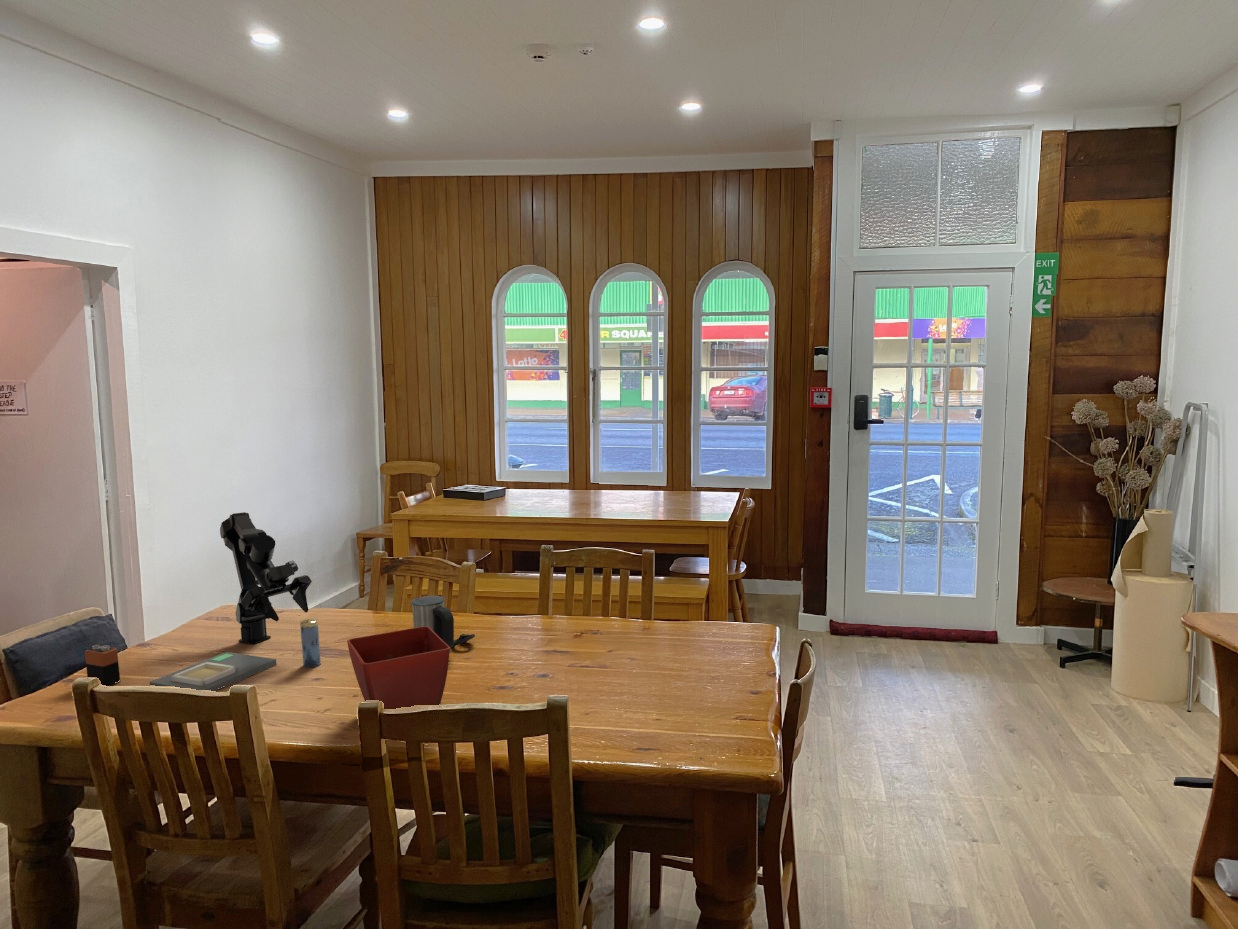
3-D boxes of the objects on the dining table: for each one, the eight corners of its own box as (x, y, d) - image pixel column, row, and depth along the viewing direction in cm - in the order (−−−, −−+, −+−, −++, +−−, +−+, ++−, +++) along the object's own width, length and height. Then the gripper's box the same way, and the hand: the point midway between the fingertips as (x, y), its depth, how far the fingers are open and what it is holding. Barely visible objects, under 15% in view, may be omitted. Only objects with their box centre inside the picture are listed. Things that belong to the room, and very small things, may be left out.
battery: (105, 688, 219) (101, 650, 218) (87, 685, 222) (83, 647, 221) (121, 682, 223) (117, 644, 222) (103, 679, 226) (99, 642, 225)
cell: (311, 661, 236) (308, 618, 234) (324, 663, 234) (321, 619, 232) (299, 666, 232) (296, 623, 230) (312, 668, 230) (309, 624, 228)
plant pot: (367, 739, 186) (362, 663, 184) (350, 709, 202) (346, 638, 200) (454, 720, 194) (451, 647, 192) (431, 692, 211) (428, 625, 209)
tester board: (226, 657, 241) (225, 647, 240) (276, 664, 234) (275, 654, 233) (149, 687, 219) (149, 677, 219) (202, 697, 212) (201, 686, 211)
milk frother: (406, 655, 239) (403, 602, 237) (439, 638, 253) (436, 588, 251) (451, 661, 233) (448, 607, 232) (481, 642, 248) (479, 592, 246)
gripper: (244, 560, 228) (274, 606, 223) (305, 546, 243) (333, 589, 239) (229, 586, 233) (257, 632, 228) (289, 571, 249) (317, 613, 244)
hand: (292, 615), depth 235 cm, fingers open, 9 cm apart
